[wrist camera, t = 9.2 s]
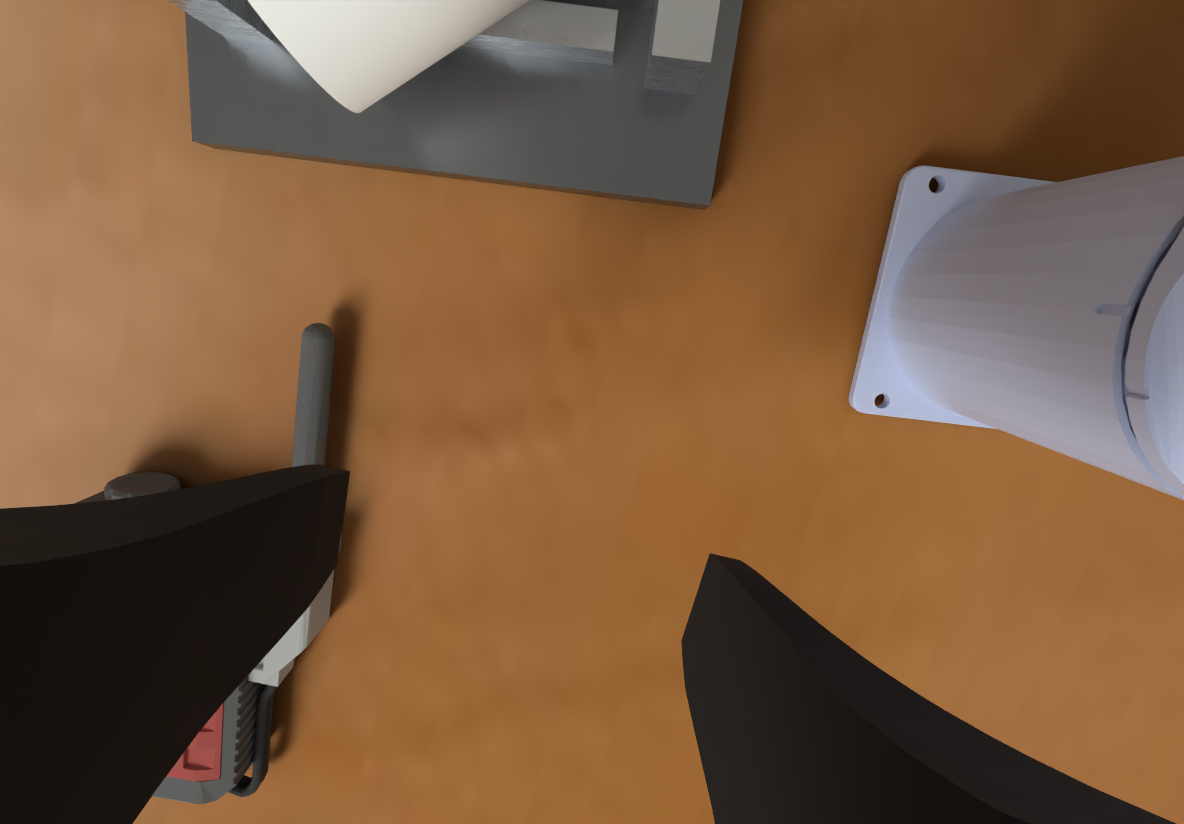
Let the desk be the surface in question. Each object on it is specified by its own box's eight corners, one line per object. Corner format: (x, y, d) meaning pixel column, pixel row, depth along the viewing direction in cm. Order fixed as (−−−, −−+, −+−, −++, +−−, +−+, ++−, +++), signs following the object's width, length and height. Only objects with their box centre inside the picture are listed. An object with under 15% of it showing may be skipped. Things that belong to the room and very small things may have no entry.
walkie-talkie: (322, 772, 24) (369, 326, 19) (262, 879, 20) (304, 340, 15) (121, 737, 24) (119, 275, 19) (17, 838, 20) (-20, 274, 15)
